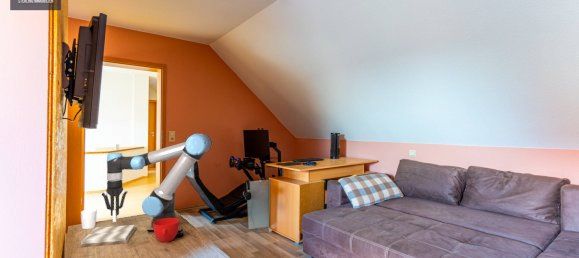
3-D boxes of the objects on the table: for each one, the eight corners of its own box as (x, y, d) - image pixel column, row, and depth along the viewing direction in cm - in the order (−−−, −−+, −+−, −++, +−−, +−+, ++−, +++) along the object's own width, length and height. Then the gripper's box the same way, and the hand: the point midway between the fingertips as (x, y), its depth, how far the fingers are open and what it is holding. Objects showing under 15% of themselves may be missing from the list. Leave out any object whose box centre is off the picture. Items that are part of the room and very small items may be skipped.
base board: (136, 229, 174) (136, 224, 174) (127, 243, 153) (127, 238, 153) (94, 232, 167) (94, 227, 167) (78, 247, 146) (78, 242, 146)
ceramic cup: (149, 248, 146) (149, 228, 146) (155, 236, 162) (155, 218, 162) (176, 246, 150) (177, 227, 150) (180, 234, 166) (180, 217, 166)
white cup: (98, 224, 180) (98, 208, 180) (94, 229, 173) (94, 212, 173) (83, 225, 178) (83, 209, 178) (78, 230, 170) (78, 213, 170)
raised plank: (134, 227, 173) (134, 224, 173) (130, 233, 163) (130, 230, 163) (95, 230, 167) (95, 227, 167) (89, 236, 157) (89, 233, 157)
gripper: (129, 178, 173) (129, 218, 173) (104, 179, 169) (104, 220, 169) (125, 180, 165) (125, 222, 165) (99, 181, 162) (99, 224, 162)
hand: (114, 221), depth 167 cm, fingers closed
